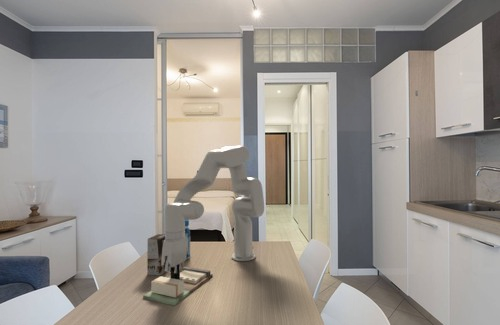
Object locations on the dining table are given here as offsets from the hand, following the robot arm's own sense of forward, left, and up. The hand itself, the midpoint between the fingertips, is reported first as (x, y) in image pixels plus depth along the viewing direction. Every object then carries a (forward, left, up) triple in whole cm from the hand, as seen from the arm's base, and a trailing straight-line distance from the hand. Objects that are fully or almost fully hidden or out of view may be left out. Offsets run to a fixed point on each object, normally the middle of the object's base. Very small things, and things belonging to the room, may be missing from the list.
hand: (175, 282), depth 103 cm
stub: (+4, 0, -2) cm, 5 cm away
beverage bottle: (-32, -20, -3) cm, 37 cm away
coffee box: (-13, -19, -3) cm, 23 cm away
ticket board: (-4, 0, -3) cm, 5 cm away
